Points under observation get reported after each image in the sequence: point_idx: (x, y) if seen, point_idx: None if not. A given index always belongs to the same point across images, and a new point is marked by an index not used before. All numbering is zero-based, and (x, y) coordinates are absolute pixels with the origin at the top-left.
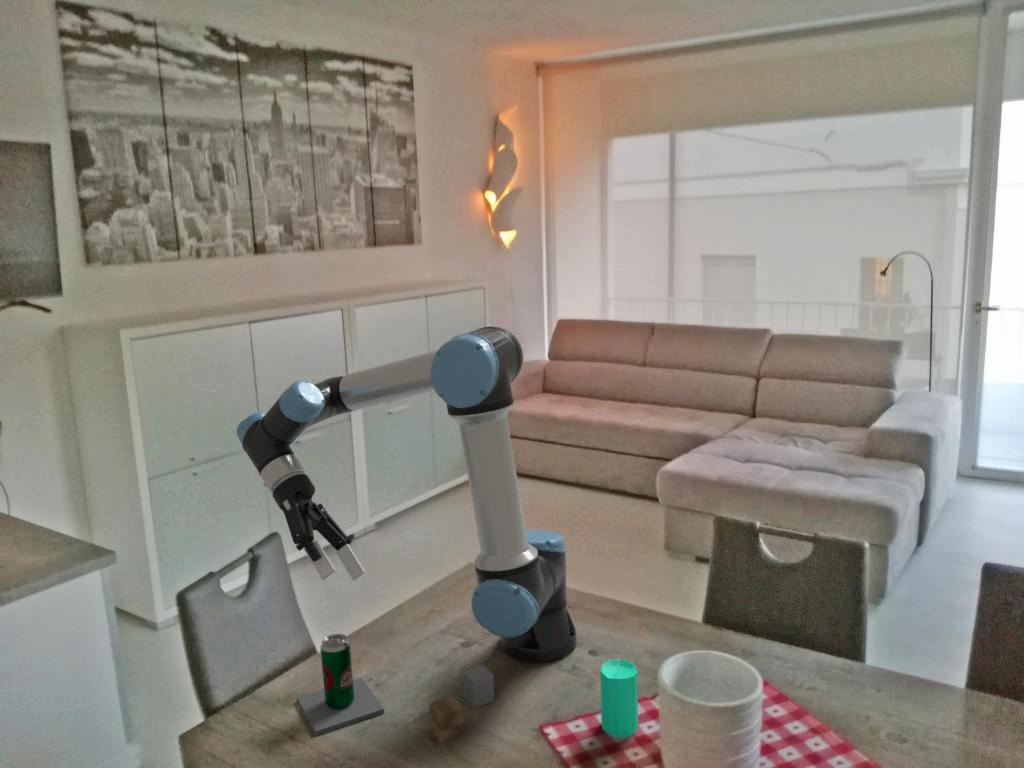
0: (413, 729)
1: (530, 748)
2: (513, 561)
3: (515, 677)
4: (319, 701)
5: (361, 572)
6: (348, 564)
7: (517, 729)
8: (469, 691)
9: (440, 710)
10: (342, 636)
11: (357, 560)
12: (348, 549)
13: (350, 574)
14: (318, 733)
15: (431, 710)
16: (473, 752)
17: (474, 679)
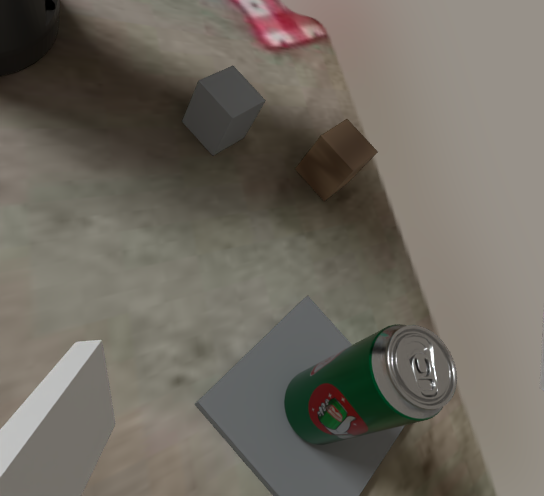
0: (331, 231)
1: (320, 67)
2: None
3: (124, 65)
4: (323, 465)
5: (101, 357)
6: (75, 461)
7: (284, 78)
8: (241, 128)
9: (366, 151)
10: (399, 347)
11: (52, 386)
12: (17, 469)
13: (103, 440)
14: None
15: (350, 174)
16: None
17: (257, 97)
